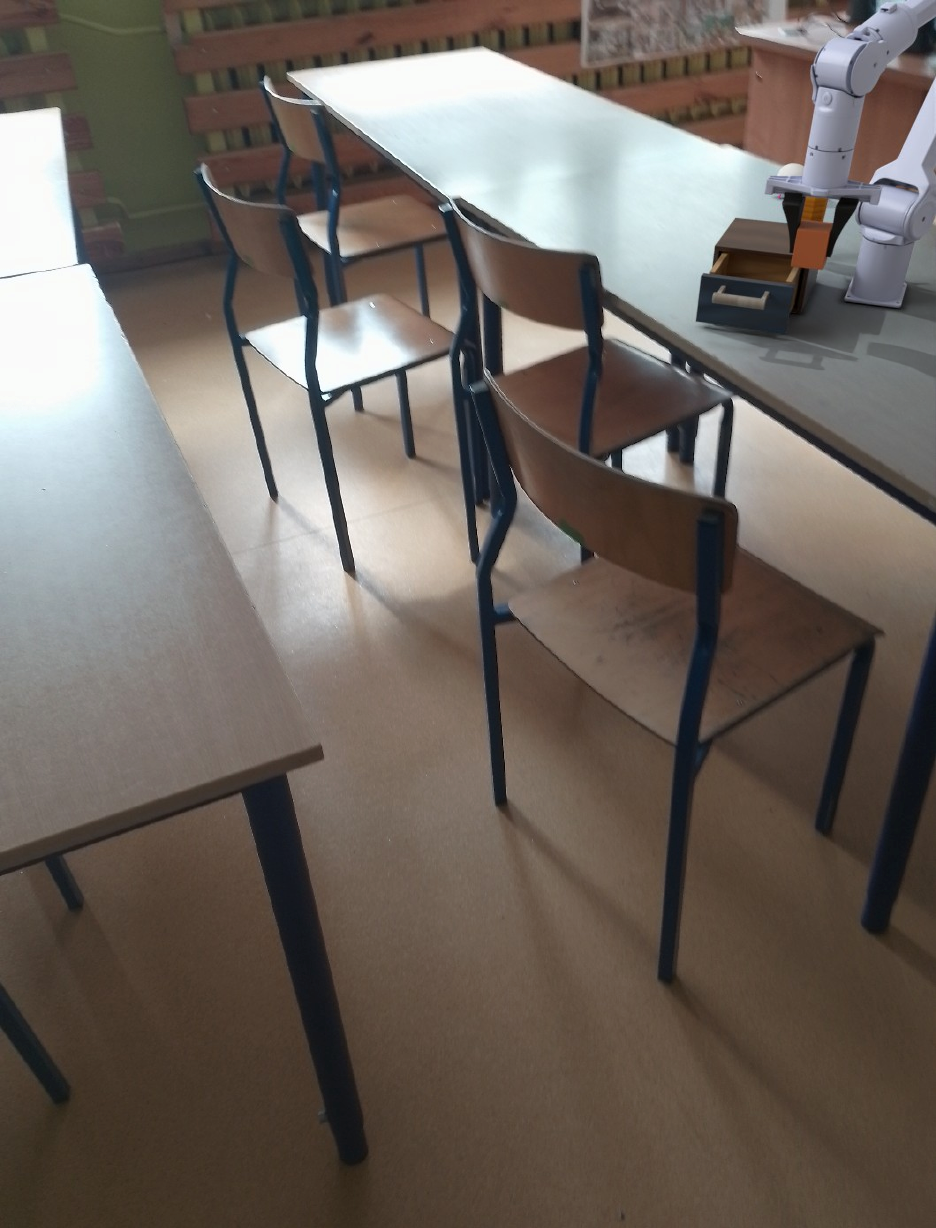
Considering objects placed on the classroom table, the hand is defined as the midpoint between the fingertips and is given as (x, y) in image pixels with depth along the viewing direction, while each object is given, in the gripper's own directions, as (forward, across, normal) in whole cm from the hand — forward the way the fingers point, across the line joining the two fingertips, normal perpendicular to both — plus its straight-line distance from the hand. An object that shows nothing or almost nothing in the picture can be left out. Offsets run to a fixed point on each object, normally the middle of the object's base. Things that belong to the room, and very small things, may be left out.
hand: (810, 252), depth 135 cm
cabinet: (+10, -7, +11) cm, 17 cm away
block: (+1, 0, 0) cm, 1 cm away
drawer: (+10, -7, -2) cm, 12 cm away
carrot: (+11, -4, +27) cm, 29 cm away
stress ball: (+10, -11, +60) cm, 62 cm away
